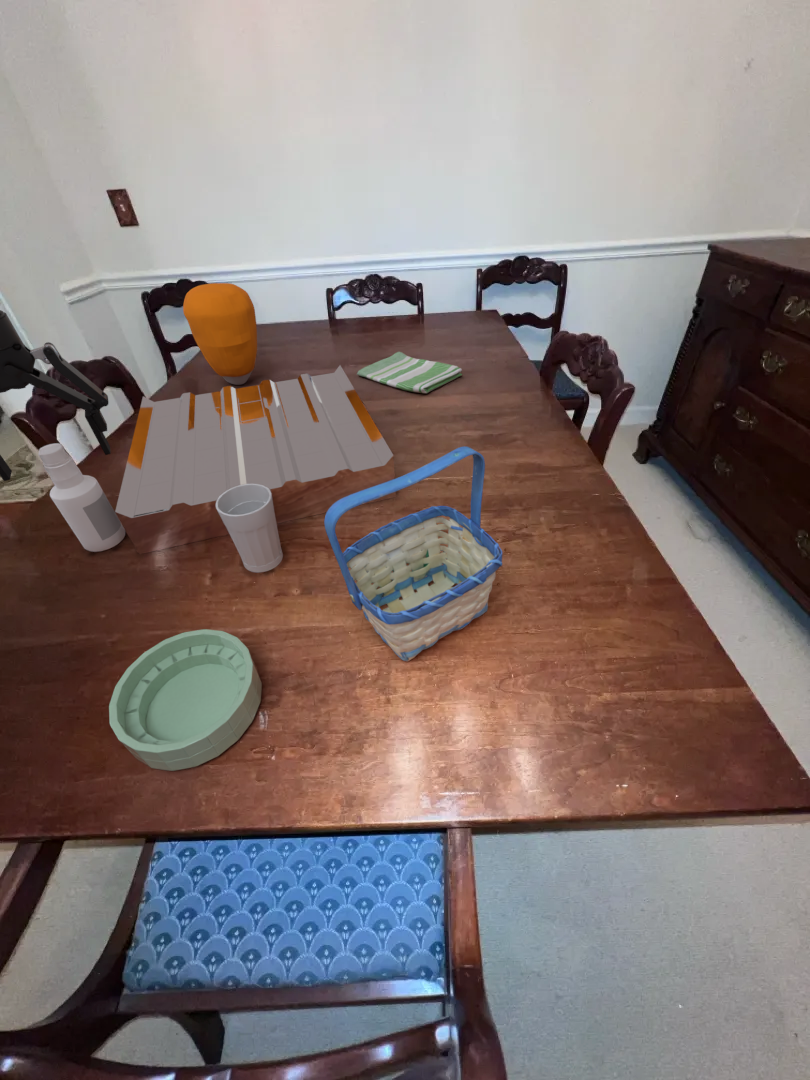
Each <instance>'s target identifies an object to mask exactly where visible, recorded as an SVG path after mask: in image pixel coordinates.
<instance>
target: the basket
mask: <svg viewBox="0 0 810 1080" xmlns="http://www.w3.org/2000/svg"><path fill="white" fill-rule="evenodd" d="M470 456H472V460H473V463H472V464H473V465H472V466H473V467H472V479H471V491H470V518H468V517H467V516H465V514H463V513H462V512H460V511H458V510H457V509H456V508H453V507H451V506H448V505H437V506H435V505H431V506H430V507H428V508H425V509H422V510H419V511H417V512H413V513H410V514H408V515H405V516H402V517H401V518H398V519H396V520H394V521H390V522H388V523H387V524H385V525H382V526H380V527H379V528H377V529H375V530H373V531H371V532H369V533H368V534H367V535H365V536H363V537H361V538H360V539H358V540H357V541H355V542H353V544H351V545H349V546H348V547H347V548H346V549H345V550H344V551H342V548H341V545H340V542H339V539H338V537H337V534H336V526H337V523H338V521H339V520H340V519H341V518H342V516H343V515H344V514H345V513H347V512H349V511H350V510H352V509H354V508H356V507H358V506H362V505H361V504H363V505H365V504H364V503H366V502H369V501H371V500H374V499H377V498H380V497H383V496H385V495H388V494H390V493H393V492H395V491H396V492H398V491H401V490H404V489H406V488H408V487H412V486H414V485H415V484H418V483H420V482H421V481H423V480H427V479H428V478H430V477H432V476H433V475H435V474H438V473H439V472H441V471H443V470H445V469H446V468H449V467H450V466H452V465H454V464H456V463H458V462H460V461H461V460H463V459H466V458H467V457H470ZM485 472H486V461H485V457H484V455H483V454H482V453H481V452H479V451H477V450H475V449H473V448H471V446H466V445H465V446H460V447H457V448H454V449H453V450H451V451H450V452H448V453H446V454H444V455H442V456H440V457H439V458H436V459H434V460H432V461H430V462H429V463H427V464H425V465H423V466H421V467H419V468H417V469H415V470H412V471H410V472H408V473H406V474H404V475H401V476H399V477H395V479H393V480H390V481H388V482H385V483H382V484H379V485H376V486H374V487H371V488H368V489H365V490H362V491H359V492H357V493H354V494H351V495H349V496H346V497H344V498H342V499H340V500H338V501H337V502H335V503H334V504H333V505H332V506H331V507H330V508H329V509H328V511H327V513H325V517H324V520H323V523H324V529H325V533H326V535H327V538H328V541H329V543H330V546H331V549H332V552H333V554H334V557H335V560H336V562H337V564H338V567H339V569H340V572H341V575H342V577H343V580H344V582H345V585H346V589H347V591H348V595H349V597H350V600H351V602H352V604H353V605H354V606H355V607H356V609H357V610H358V611H363V616H364V618H365V619H366V621H367V622H368V623H370V624H371V626H372V627H373V629H374V632H375V633H376V634H377V635H378V636H379V637H380V638H381V640H382V641H383V643H384V644H386V645H387V646H388V647H389V648H390V649H391V651H393V653H394V654H395V655H396V656H397V657H398V658H399V659H400V660H401V661H404V662H409V661H411V660H412V659H414V658H416V656H417V655H419V654H420V653H421V652H422V651H423V650H424V651H425V650H427V649H430V648H432V647H433V646H434V645H435V644H437V642H438V641H439V640H440V639H442V638H445V637H446V636H447V635H450V634H452V633H453V632H455V631H460V630H463V629H464V628H465V627H467V626H468V625H469V624H471V622H472V621H473V620H474V619H477V618H479V617H481V616H482V615H484V614H485V613H487V612H488V610H489V597H490V596H489V595H490V593H491V592H492V590H493V583H494V581H495V580H496V576H497V574H496V571H498V570H499V568H500V567H502V566H503V550H502V548H501V546H500V545H499V543H498V542H496V540H495V539H494V538H493V537H492V536H491V535H490V534H489V533H488V532H487V531H485V529H483V528H481V519H482V518H481V515H482V514H481V513H482V501H483V492H484V481H485ZM445 517H446V518H445ZM447 517H448V518H449V519H447ZM438 523H439V524H438ZM446 530H447V532H446ZM407 564H408V565H407ZM355 581H356V582H355ZM431 582H433V583H432V584H430V585H429V583H431ZM455 584H456V585H455ZM454 585H455V586H454ZM415 590H416V592H415ZM400 598H401V599H400ZM385 605H387V607H385V608H383V609H382V608H381V607H382V606H385Z"/></svg>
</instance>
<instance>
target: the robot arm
mask: <svg viewBox="0 0 810 1080" xmlns="http://www.w3.org/2000/svg"><path fill="white" fill-rule="evenodd" d="M0 305H2V303H1V302H0ZM36 360H40V361H42V362H43V363H44V364H45V365H51V366H52V367H53V368H54V369H55V370H56V371H57V372H58V373H60V374H61V375H62V376H63V377H65V378H66V379H67V380H68V381H70V382H71V383H72V384H73V385H75V386H76V387H77V388H78V389H80V390H81V391H82V392H84V393H85V394H86V395H85V394H83V393H81V392H79V391H77V390H76V389H74V388H72V387H70V386H67V385H66V384H65V383H62V382H61V381H59V380H56V379H55V378H52V377H51V376H49V375H47V373H45V372H43V371H42V370H40V369H38V368H37V367H36V368H35V365H36V364H35V363H36ZM29 385H31V386H32V387H35V388H37V389H42V390H44V391H45V392H47V393H49V394H52V395H54V396H55V397H58V398H60V399H62V400H63V401H65V402H67V403H70V404H72V405H74V406H75V407H78V408H79V409H82V410H83V411H84V418H85V420H86V422H87V424H88V425H89V427H90V429H91V431H92V433H93V435H94V437H95V438H96V440H97V443H98V444H99V446H100V448H101V450H102V452H103V453H104V456H108V455H111V453H112V451H111V446H110V443H109V441H108V440H107V438H106V436H105V432H108V424H107V423H108V422H107V421H106V420H105V418H104V415H103V414H102V411H101V409H102V408H104V407H107V406H109V396H108V394H107V393H106V392H104V391H103V390H102V389H101V388H100V387H99V386H97V385H96V384H95V383H94V382H93V381H91V380H90V379H89V378H88V377H87V376H86V375H84V374H83V373H82V372H80V370H78V369H77V368H76V367H74V366H73V365H72V364H71V363H69V362H68V361H67V360H66V359H65V358H63V357H62V355H61V354H60V352H59V351H58V349H57V347H56V346H55V345H54V344H53V343H52V342H49V341H47V342H44V344H43V345H42V346H39V347H36V348H33V349H30V348H29V347H27V346H26V345H25V343H24V342H23V340H22V339H21V337H20V335H19V333H18V332H17V330H16V328H15V326H14V324H13V323H12V321H11V319H10V318H9V315H8V314H7V312H6V311H5V312H4V311H3V310H2V309H0V394H3V393H7V392H9V391H10V390H22V389H26V388H27V386H29ZM12 472H13V471H12V469H11V467H10V466H9V465H8V463H7V462H6V460H5V459H4V458H3V456H2V455H1V454H0V477H1V479H2V481H3V482H6V481H10V480H11V477H12Z"/></svg>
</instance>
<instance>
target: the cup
mask: <svg viewBox="0 0 810 1080" xmlns="http://www.w3.org/2000/svg"><path fill="white" fill-rule="evenodd" d="M216 509H217V511H218V513H219V515H220V517H221V518H222V520H223V522H224V524H225V526H226V528H227V530H228V532H229V534H228V535H229V536H230V538H231V540H232V542H233V544H234V546H235V549H236V551H237V552H238V554H239V556H240V559H241V561H242V564H243V567H244V568H245V569H246V570H247V571H249V572H251V573H264V572H269V571H271V570H273V569H275V568H276V567H278V566H279V565H280V564H281V562H282V561H283V558H284V554H283V549H282V547H281V546H282V545H281V541H280V535H279V530H278V524H277V523H276V518H275V513H274V506H273V500H272V494H271V491H270V490H269V489H268V488H267V487H265V486H263V485H260V484H243V485H239V486H236V487H233V488H231V489H229V490H227V491H225V492H224V493H223V494H221V495H220V496H219V498H218V499H217V501H216Z"/></svg>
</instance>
